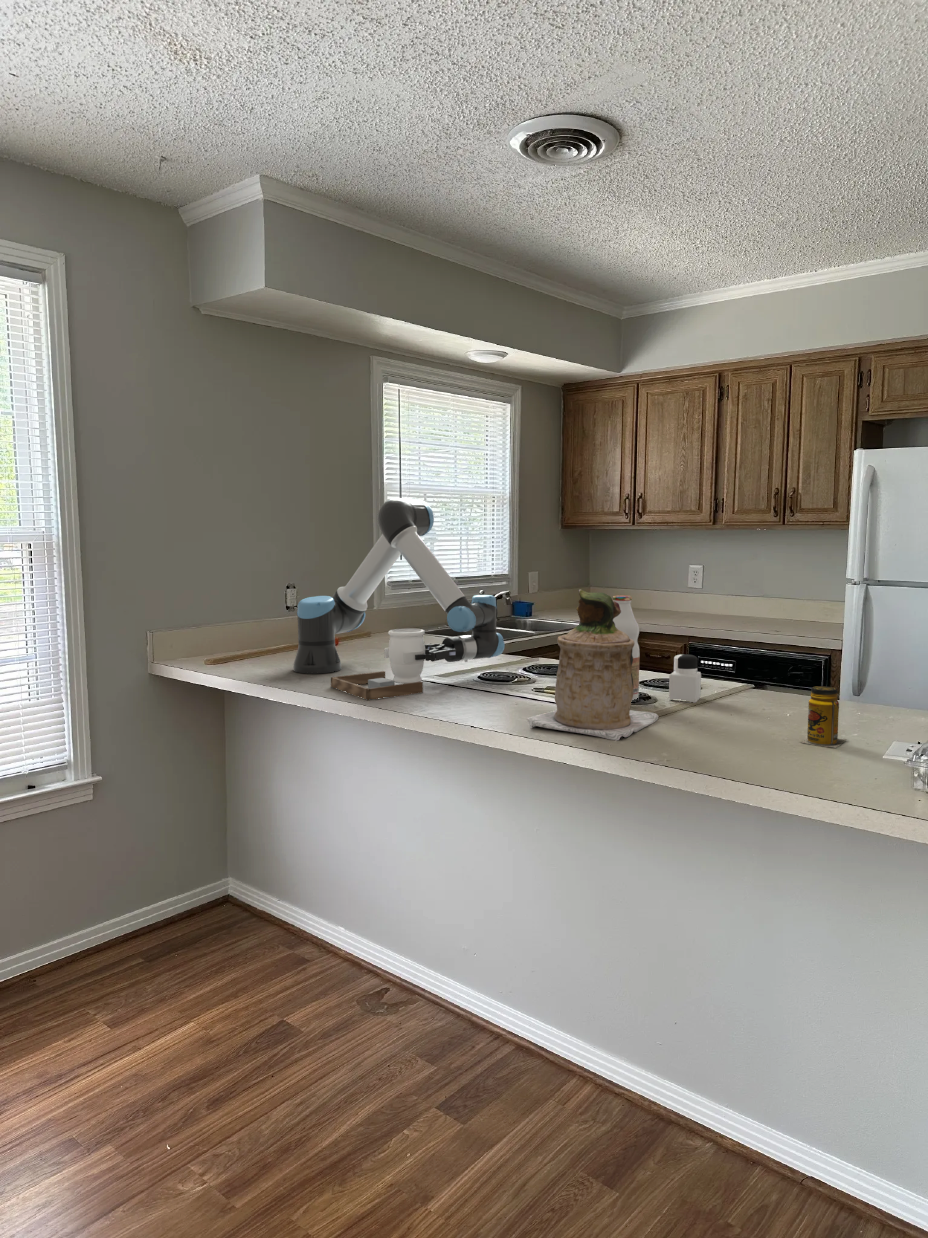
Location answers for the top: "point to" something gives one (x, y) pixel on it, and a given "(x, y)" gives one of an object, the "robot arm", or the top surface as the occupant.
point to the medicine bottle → (685, 679)
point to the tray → (351, 681)
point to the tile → (380, 682)
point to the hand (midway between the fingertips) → (394, 655)
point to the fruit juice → (629, 634)
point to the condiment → (823, 718)
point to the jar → (401, 644)
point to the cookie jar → (595, 676)
